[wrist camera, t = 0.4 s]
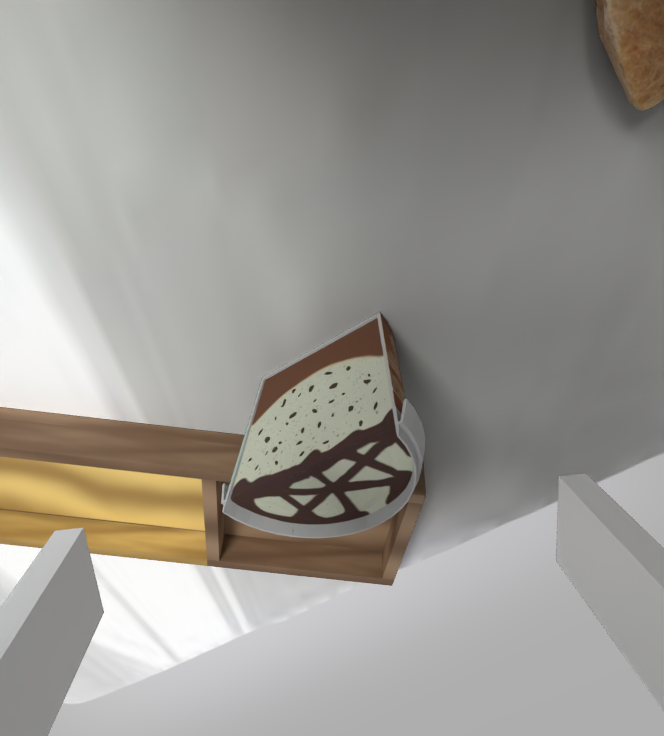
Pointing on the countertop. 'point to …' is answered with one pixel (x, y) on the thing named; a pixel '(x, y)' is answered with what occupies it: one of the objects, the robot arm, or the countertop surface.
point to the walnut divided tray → (164, 500)
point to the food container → (329, 441)
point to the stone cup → (635, 47)
